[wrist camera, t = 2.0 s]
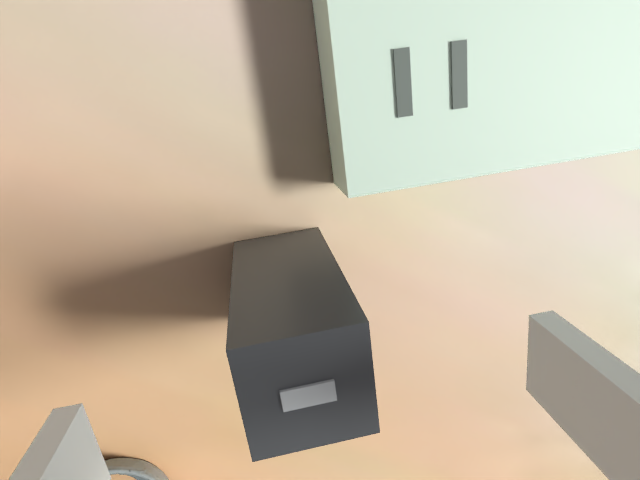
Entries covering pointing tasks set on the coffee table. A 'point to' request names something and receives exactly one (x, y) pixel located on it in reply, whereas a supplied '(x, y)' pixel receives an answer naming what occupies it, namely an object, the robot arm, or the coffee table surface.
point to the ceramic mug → (135, 469)
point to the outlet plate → (474, 86)
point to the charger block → (298, 346)
